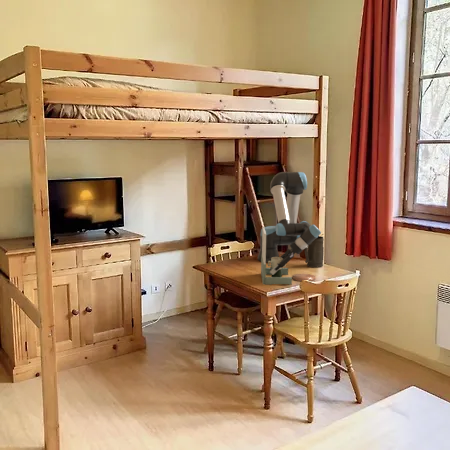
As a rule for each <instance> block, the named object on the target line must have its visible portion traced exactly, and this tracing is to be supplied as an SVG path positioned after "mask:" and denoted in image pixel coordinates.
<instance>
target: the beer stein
mask: <svg viewBox="0 0 450 450" xmlns="http://www.w3.org/2000/svg"><path fill="white" fill-rule="evenodd" d="M324 241H325V239H324V236H320V235H319V236H318V237H317V238H316V239H315V240H314V241H313V242H311V243H310V244H309V245H308V246H307V248H305V249H304V250H303V251H304V255H305V262H304V263H305V264H306V266H308V267H309V268H315V269H316V268H323V267H324V252H325V249H324Z"/></svg>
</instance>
